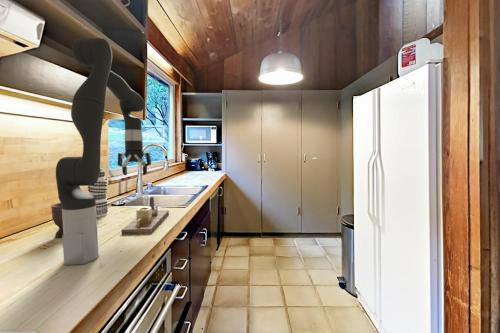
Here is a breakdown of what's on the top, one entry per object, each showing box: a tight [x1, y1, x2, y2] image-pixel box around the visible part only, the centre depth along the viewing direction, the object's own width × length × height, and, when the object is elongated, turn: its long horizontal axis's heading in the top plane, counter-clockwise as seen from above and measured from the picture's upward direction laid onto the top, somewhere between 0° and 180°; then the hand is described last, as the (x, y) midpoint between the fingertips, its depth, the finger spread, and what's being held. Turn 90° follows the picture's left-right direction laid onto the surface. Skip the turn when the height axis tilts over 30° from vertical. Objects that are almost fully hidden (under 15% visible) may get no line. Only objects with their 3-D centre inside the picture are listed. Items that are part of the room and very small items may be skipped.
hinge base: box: [120, 196, 170, 235], centre depth 128 cm, size 32×12×11 cm, turn 4°
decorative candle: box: [87, 167, 109, 218], centre depth 143 cm, size 9×9×25 cm
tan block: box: [135, 206, 152, 227], centre depth 120 cm, size 11×5×6 cm, turn 4°
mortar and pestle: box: [50, 202, 64, 239], centre depth 111 cm, size 12×9×20 cm
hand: (135, 175), depth 126 cm, fingers open, 8 cm apart
